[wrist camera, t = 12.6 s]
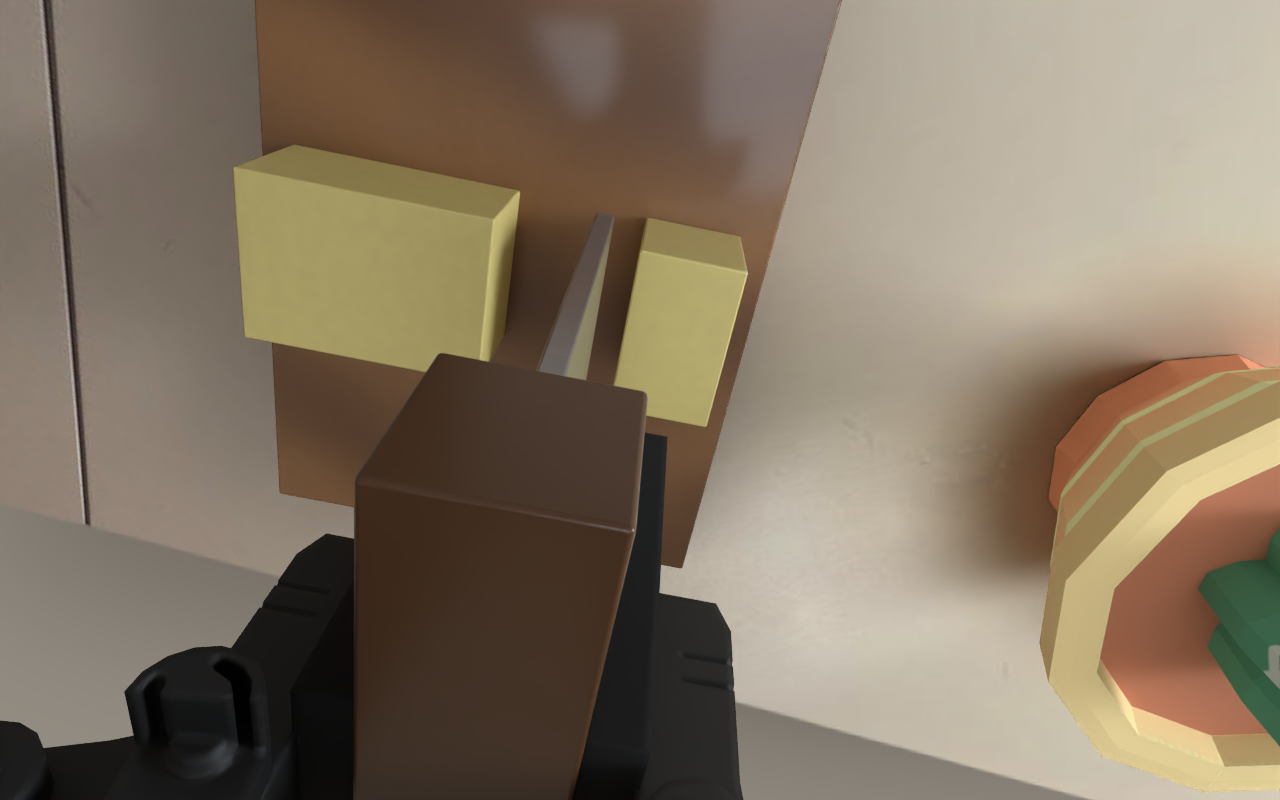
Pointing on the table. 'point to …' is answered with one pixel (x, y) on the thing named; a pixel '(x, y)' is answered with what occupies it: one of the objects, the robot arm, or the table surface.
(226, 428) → the table surface
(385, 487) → the cleaver
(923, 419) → the table surface
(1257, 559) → the potted cactus
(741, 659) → the table surface
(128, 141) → the table surface
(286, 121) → the board
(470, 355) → the butter
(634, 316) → the butter pat
